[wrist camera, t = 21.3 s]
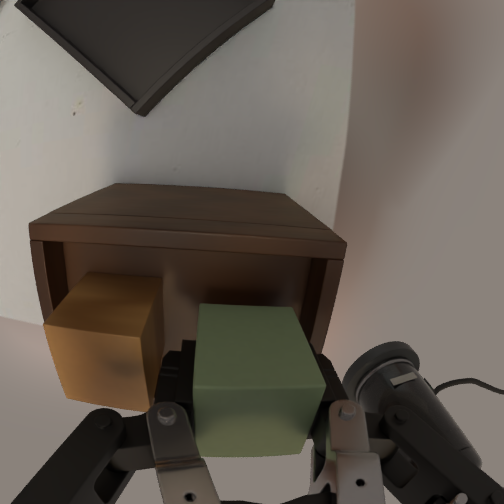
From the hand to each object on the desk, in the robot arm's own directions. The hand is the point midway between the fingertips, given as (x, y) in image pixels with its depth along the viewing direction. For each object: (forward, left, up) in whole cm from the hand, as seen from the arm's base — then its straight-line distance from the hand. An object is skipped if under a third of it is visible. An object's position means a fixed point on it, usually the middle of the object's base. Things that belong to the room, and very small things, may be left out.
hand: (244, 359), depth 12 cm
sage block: (0, 0, -1) cm, 1 cm away
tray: (+22, -10, -14) cm, 28 cm away
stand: (+2, +2, -14) cm, 15 cm away
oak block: (+5, +4, -3) cm, 7 cm away
